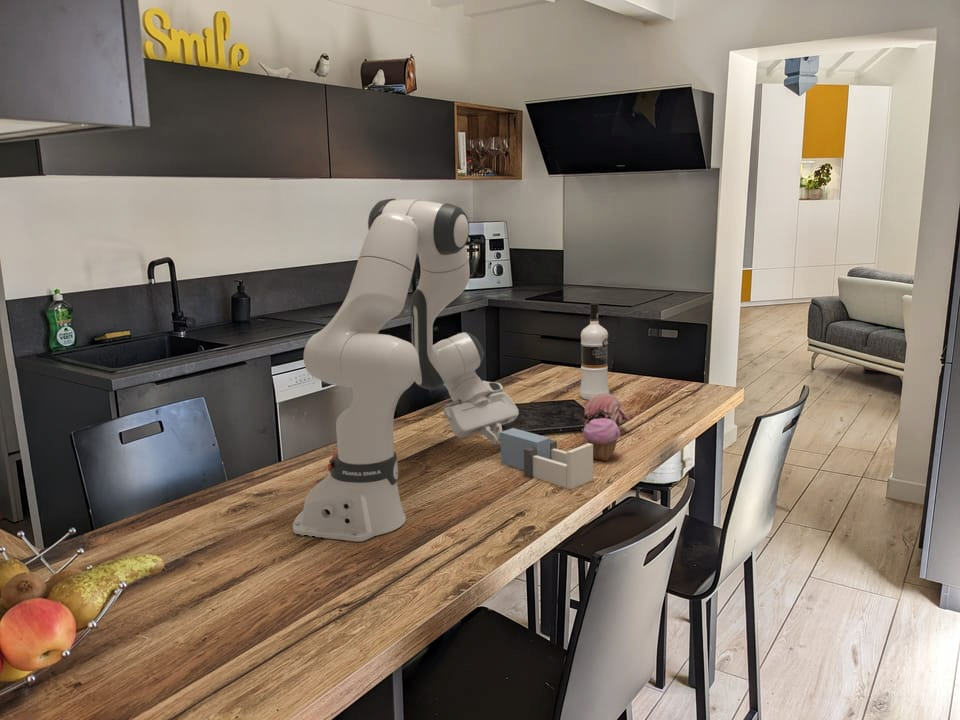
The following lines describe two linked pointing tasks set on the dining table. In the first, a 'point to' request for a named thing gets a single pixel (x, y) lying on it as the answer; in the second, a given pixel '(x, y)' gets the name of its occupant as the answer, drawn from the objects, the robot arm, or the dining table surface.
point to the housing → (561, 465)
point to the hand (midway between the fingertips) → (499, 441)
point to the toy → (604, 409)
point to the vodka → (594, 357)
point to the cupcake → (602, 437)
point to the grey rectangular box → (521, 446)
